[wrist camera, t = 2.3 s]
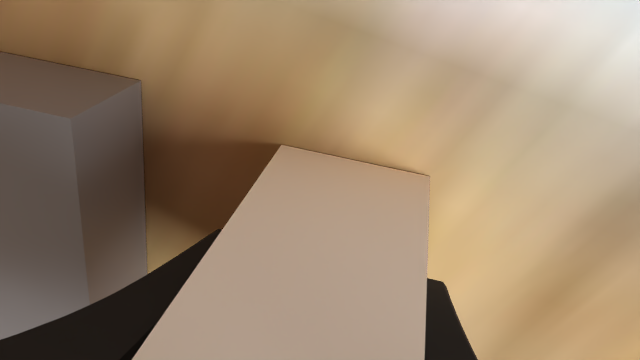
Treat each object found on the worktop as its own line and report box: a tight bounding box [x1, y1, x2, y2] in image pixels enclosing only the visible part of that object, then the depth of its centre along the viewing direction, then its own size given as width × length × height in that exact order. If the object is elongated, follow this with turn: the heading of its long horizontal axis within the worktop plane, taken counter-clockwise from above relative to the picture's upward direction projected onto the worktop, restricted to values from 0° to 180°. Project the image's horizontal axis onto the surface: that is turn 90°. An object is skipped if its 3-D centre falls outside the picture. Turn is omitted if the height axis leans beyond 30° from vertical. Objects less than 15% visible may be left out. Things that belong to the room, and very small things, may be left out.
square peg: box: [132, 145, 430, 360], centre depth 11 cm, size 4×4×8 cm
